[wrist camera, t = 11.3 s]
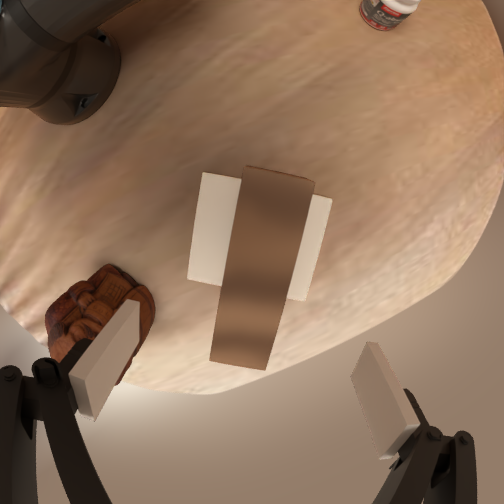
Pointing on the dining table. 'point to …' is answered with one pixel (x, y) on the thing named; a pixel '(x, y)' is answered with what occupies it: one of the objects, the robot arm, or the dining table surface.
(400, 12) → the pill bottle
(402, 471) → the robot arm
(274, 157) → the dining table surface
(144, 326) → the wooden figurine
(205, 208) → the fulcrum
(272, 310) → the bar
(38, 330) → the dining table surface
